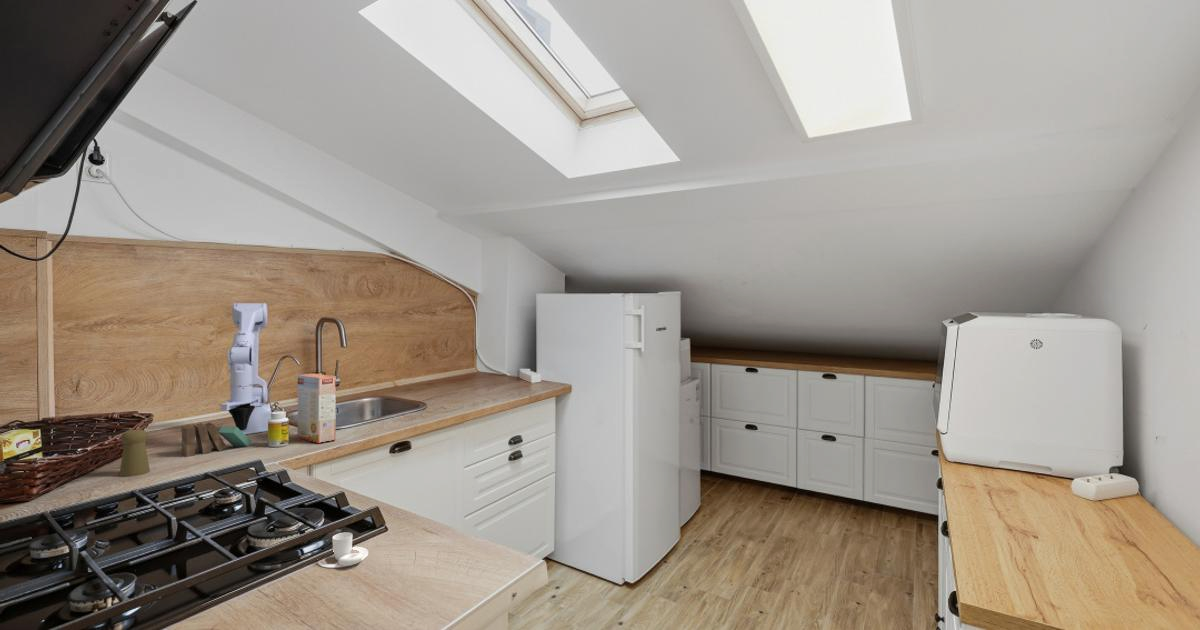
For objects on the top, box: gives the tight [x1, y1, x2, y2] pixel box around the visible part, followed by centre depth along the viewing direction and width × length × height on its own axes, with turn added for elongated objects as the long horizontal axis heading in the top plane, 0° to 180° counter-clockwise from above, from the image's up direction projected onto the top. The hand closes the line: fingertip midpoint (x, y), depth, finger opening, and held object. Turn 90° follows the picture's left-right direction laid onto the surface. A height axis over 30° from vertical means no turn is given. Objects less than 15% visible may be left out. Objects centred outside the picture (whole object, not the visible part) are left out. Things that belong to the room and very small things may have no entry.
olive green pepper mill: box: [118, 429, 151, 478], centre depth 141 cm, size 6×6×11 cm
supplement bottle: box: [267, 410, 290, 448], centre depth 170 cm, size 6×6×10 cm
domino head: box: [218, 426, 252, 448], centre depth 167 cm, size 2×5×8 cm
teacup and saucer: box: [316, 532, 369, 569], centre depth 94 cm, size 9×8×4 cm
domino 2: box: [192, 422, 212, 455], centre depth 162 cm, size 2×5×8 cm, turn 50°
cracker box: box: [297, 372, 337, 444], centre depth 178 cm, size 14×6×21 cm, turn 53°
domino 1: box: [181, 425, 196, 458], centre depth 159 cm, size 2×5×8 cm, turn 50°
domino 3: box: [204, 421, 227, 452], centre depth 164 cm, size 2×5×8 cm, turn 50°
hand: (241, 429), depth 170 cm, fingers closed
